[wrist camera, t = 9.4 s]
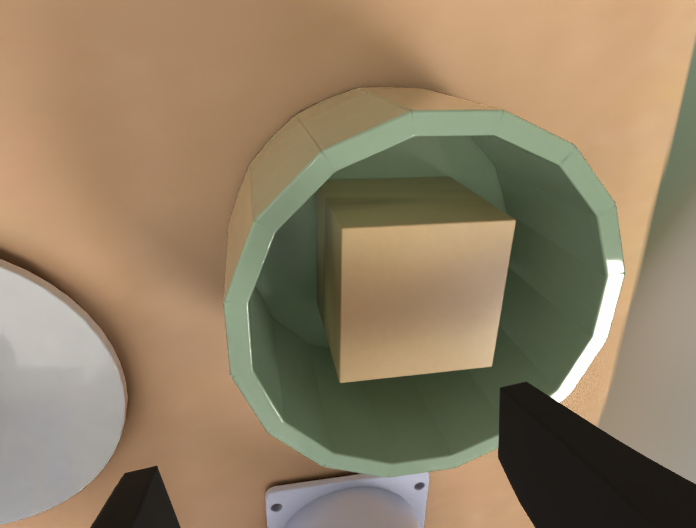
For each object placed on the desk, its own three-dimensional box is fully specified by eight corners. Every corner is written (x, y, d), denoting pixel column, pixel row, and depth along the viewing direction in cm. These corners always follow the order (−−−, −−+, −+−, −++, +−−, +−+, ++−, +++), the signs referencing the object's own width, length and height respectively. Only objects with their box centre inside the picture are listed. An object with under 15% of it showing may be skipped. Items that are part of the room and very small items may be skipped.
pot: (492, 347, 23) (577, 451, 17) (241, 372, 21) (241, 500, 15) (534, 86, 18) (671, 108, 12) (218, 85, 16) (205, 111, 10)
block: (437, 295, 20) (492, 367, 16) (316, 305, 20) (339, 384, 15) (449, 176, 18) (517, 219, 14) (315, 180, 17) (341, 228, 13)
